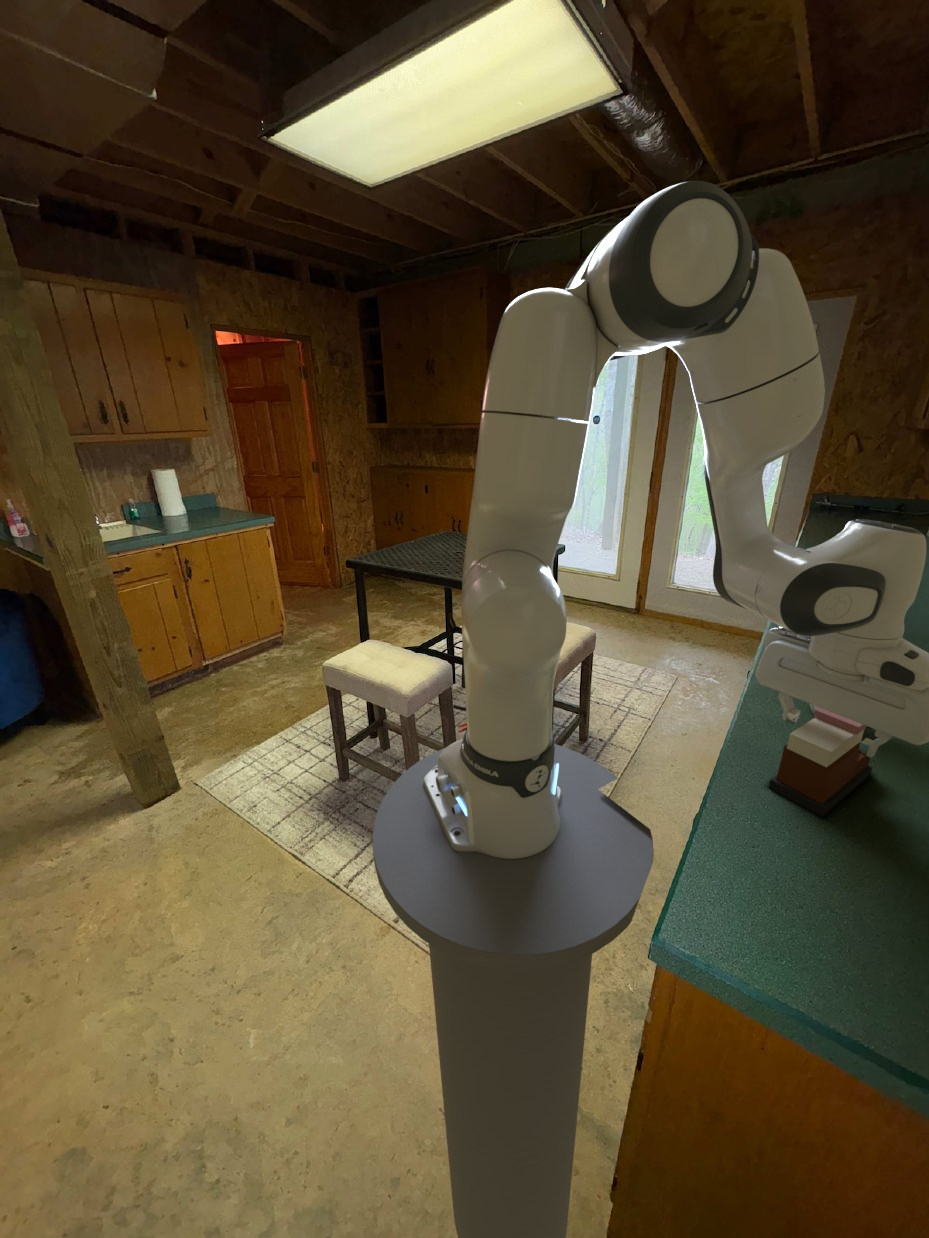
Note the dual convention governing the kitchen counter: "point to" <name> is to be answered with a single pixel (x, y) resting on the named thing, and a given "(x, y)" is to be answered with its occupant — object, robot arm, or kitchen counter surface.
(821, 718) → the cream rectangular block
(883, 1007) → the kitchen counter surface
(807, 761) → the brown block on base
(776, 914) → the kitchen counter surface
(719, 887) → the kitchen counter surface
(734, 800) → the kitchen counter surface
